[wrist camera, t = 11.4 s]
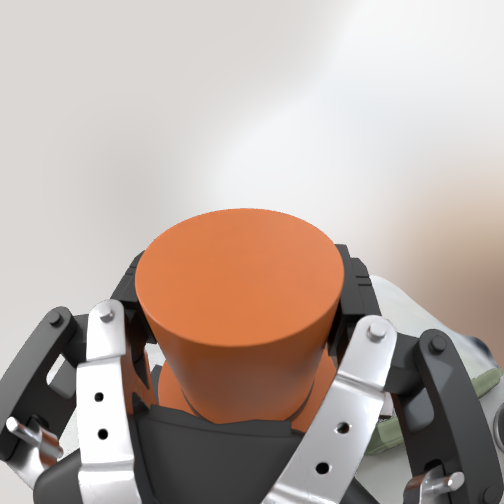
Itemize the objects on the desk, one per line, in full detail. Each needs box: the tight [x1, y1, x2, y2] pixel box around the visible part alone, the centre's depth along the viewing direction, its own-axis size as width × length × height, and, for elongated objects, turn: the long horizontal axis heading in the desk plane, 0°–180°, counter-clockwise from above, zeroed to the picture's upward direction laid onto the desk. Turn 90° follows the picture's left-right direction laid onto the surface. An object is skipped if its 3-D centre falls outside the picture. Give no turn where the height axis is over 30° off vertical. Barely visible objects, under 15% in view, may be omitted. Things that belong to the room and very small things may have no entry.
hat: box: [135, 208, 345, 432], centre depth 10 cm, size 9×9×8 cm
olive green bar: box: [364, 367, 503, 455], centre depth 22 cm, size 7×3×25 cm
